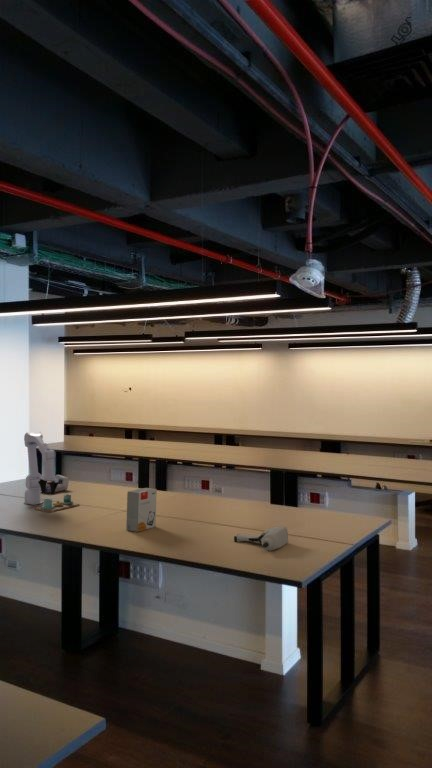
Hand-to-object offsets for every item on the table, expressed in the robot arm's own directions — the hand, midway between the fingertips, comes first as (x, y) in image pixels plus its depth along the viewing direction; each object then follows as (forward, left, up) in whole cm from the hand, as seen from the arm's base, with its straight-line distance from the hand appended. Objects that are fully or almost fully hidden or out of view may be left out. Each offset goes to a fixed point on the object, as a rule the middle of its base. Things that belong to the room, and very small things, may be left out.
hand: (48, 493), depth 341 cm
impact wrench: (+139, -3, -10) cm, 140 cm away
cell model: (-39, +42, -10) cm, 59 cm away
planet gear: (+2, -2, -8) cm, 9 cm away
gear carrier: (+2, +6, -9) cm, 11 cm away
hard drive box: (+75, -7, -10) cm, 76 cm away
